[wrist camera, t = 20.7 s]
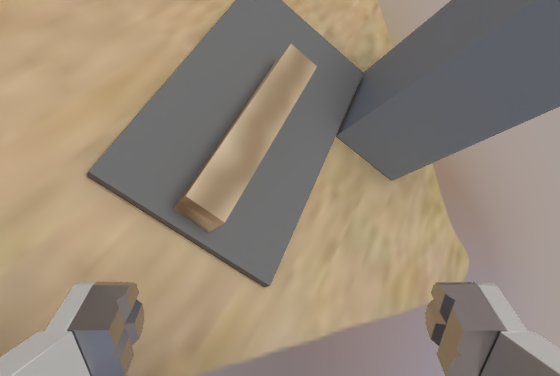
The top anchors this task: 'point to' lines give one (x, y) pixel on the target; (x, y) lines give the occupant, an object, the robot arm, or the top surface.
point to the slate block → (456, 83)
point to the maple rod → (245, 142)
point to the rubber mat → (215, 123)
